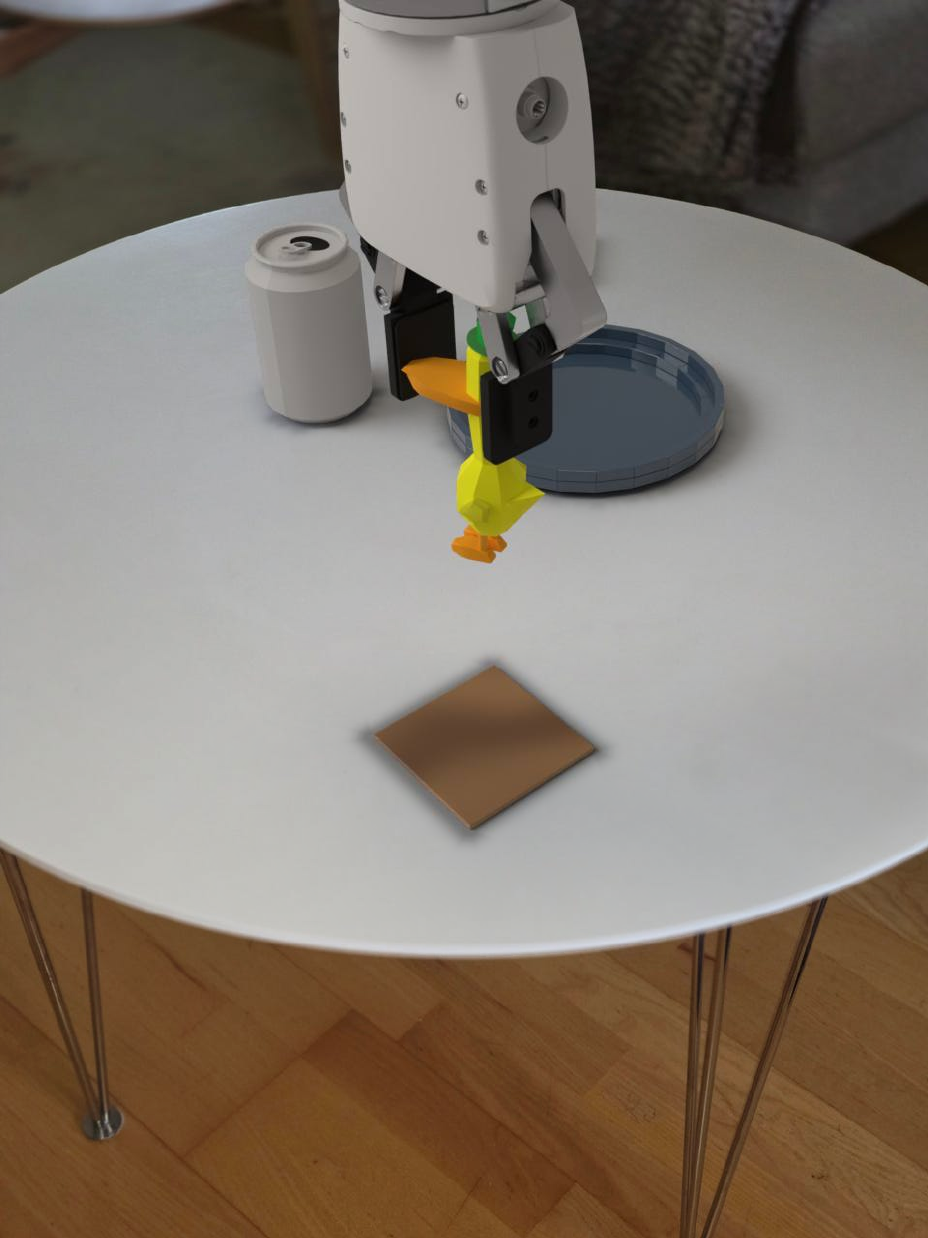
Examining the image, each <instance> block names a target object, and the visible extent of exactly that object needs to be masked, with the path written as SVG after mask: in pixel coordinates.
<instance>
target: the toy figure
mask: <svg viewBox="0 0 928 1238" xmlns="http://www.w3.org/2000/svg"><path fill="white" fill-rule="evenodd" d="M507 315H508V319H509V323H510V327H511V332H512V336H513V340H514V341H515V340H516V339H517V338H518V335H517V334H518V333H516V332H514V329H515V327H516V322H517V317H516V316H515V315H514V314H513V313H511V311H510V312H508V313H507ZM465 340H466V344H467V349H466V353H465V354H466V355H465V356H466V357H465V358H466V360H459V359H457V360H455V359H447V358H438V357H431V358H424V359H418V360H412V361H410V362H409V363H408V364H407V365H406V366H405V367H404V368H402V369H401V370H402V371H403V372H405V373H406V374H407V376H408V378H409V380H410V382H411V384H412V387H413V388H414V389H415V390H416V391H417V392H418V393H419V394H420V395H419V396H422V397H424V398H426V399H429V400H431V401H434V402H435V403H438V404H441V405H443V406H446V407H447V406H449V407H451V408H454V409H457V410H459V411H462V412H465V413H468V419H469V425H470V432H471V438H472V445H473V452H474V453H473V454H472V455H471V456H470V457H467V459H466V460H465V461H464V462H462V463H461V465H460V466H459V470H458V473H457V474H458V475H457V478H456V512H458V514H459V515H460V516H461V517H462V518H463V519H464V520H465V521H466V523H468V525H467V526H466V527H465V529H464V530H463V531H462V532H463V536H458V537H455V538H454V539H453V540H452V542H451V544H450V546H451V551H452V552H454V553H455V554H456V555H458V556H460V557H461V558H463V559H466V560H470V561H474V562H480V563H485V564H492V563H493V562H494V560H496V558H497V554H496V552H497V553H502V552H503V551H504V550H505V549H507V547H508V543H507V542H506V540H505V539H504V538H503V537H502V535H503V534H504V533H506V532H508V531H509V530H510V529H511V528H512V527H513V526H514V525H515V524H516V523H517V522H518V521H519V520H520V519H521V518H522V517H523V516H524V514H526V512H528V511H529V510H530V509H531V508H532V507H533V506H534V505H535V504H537V502H539V501H540V500H541V499H542V498H543V497H544V496H545V495H546V493H545V492H544V491H542V490H540V488H538V487H534V486H532V485H531V484H529V483H527V482H526V467H527V466H526V465H524V464H523V463H521V462H520V461H518V460H517V459H515V458H511V459H509V460H507V461H505V462H503V463H501V464H499V465H494V464H492V463H491V462H489V461H488V460H486V459H485V458H484V455H483V447H482V423H481V398H480V376H481V375H483V374H485V373H486V372H489V371H491V368H490V364H489V360H488V356H487V352H486V348H485V344H484V340H483V336H482V332H481V328H480V324H479V320H478V316H476V326H474V327H473V328H471V329H470V330H468V332H467V334H466V339H465ZM465 361H466V362H465Z"/></svg>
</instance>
